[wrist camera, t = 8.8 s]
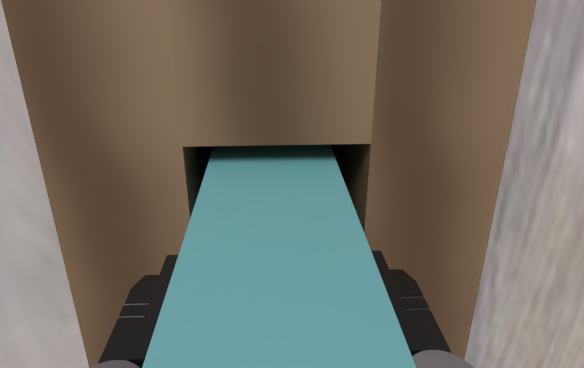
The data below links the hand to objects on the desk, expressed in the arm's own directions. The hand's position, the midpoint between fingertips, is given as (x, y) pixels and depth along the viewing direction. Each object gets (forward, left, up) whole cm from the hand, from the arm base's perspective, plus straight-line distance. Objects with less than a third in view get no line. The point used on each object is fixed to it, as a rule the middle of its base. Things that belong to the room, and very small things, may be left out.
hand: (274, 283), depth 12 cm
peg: (0, 0, -6) cm, 6 cm away
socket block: (0, 0, -8) cm, 8 cm away
